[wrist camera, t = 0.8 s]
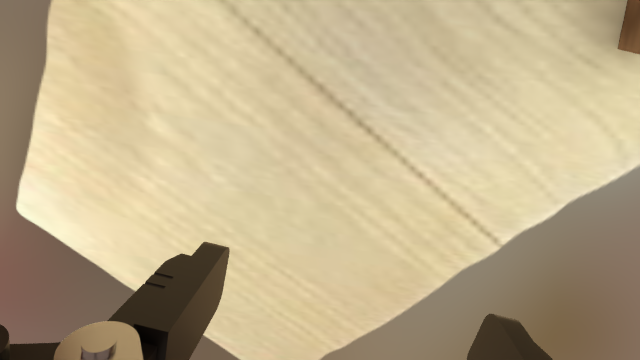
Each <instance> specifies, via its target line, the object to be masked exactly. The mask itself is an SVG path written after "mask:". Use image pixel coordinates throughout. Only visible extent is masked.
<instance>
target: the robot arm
mask: <svg viewBox="0 0 640 360" xmlns="http://www.w3.org/2000/svg"><path fill="white" fill-rule="evenodd" d="M228 258H229V248H228V247H224V246H220V245H216V244H212V243H208V242H203V243H202V244H201V246H200V247H199V248H198V249H197V250H196V252H195V253H194V254H193V255H192V256H189V255H185V254H180V255H177V256H175V257H173V258H171V259H169V260H167V261H165V262H164V263H163V264H162V265H161V266H160V267H159V268H158V269H157V270H156V271H155V273H154V275H152V276H151V277H150V278H149V279H148V280H147V281H146V283H145V284H143V285H142V286H141V287H140V288H139V289H138V290H137V291H136V292H135V293H134V294H133V295H132V296H131V297H130V298H129V299H128V300H127V301H126V302H125V303H124V304H123V305H122V306H121V307H120V308H119V309H118V310H117V312H116V313H115V314H114V315H113V316H112V317H111V318H110V319H109V320H108V321H104V322H97V323H93V324H90V325H87V326H84V327H82V328H80V329H78V330H76V331H74V332H73V333H71V334H70V335H69V336H67V337H66V338H65V339H64V340H63V341H62V342H59V343H38V344H9V333H8V331H7V329H6V328H5V327H4V326H2V325H0V360H189V359H190V357H191V355H192V353H193V351H194V350H195V348H196V346H197V344H198V343H199V341H200V339H201V337H202V335H203V334H204V332H205V330H206V328H207V326H208V324H209V323H210V321H211V319H212V317H213V315H214V314H215V312H216V310H217V307H218V305H219V302H220V299H221V296H222V292H223V286H224V281H225V275H226V269H227V264H228ZM467 360H552V358H551V357H550V356H549V355H548V354H547V353H546V352H544V351H543V350H542V349H541V348H540V347H539V346H538V345H537V344H536V343H535V342H534V341H533V340H532V339H531V337H530V336H529V334H528V333H527V332H526V330H525V329H524V327H523V326H522V325H521V323H520V322H519V321H517V320H515V319H511V318H506V317H503V316H498V315H494V314H489V315H487V316H486V317H485V319H484V321H483V323H482V325H481V327H480V329H479V332H478V333H477V336H476V338H475V340H474V342H473V344H472V346H471V348H470V350H469V353H468V356H467Z"/></svg>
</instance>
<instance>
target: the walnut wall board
mask: <svg viewBox="0 0 640 360" xmlns="http://www.w3.org/2000/svg"><path fill="white" fill-rule="evenodd" d="M618 49H620V50H624V51H628V52H633V53H637V54H640V0H628V2H627V7H626V12H625V17H624V22H623V26H622V31H621V36H620V41H619V46H618Z"/></svg>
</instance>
